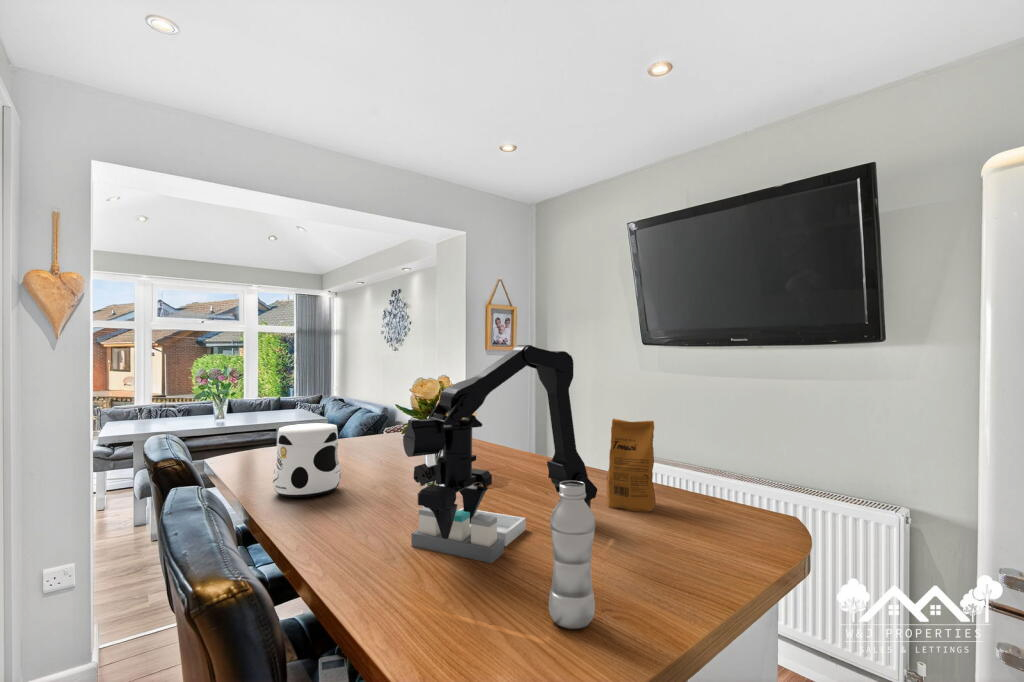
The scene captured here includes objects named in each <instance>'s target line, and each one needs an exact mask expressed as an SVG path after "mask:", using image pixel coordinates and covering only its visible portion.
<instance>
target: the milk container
mask: <svg viewBox="0 0 1024 682" xmlns="http://www.w3.org/2000/svg"><path fill="white" fill-rule="evenodd" d="M338 434H339V432H338V426H337V424H333V423H320V422H319V423H301V424H292V425H285V426H282V427H279V428H278V431H277V436H276V437H277V438H276V439H277V440H276V442H277V443H276V463H275V467H274V471H273V473H272V474H273V475H272V484H273V490H274V491H275V492H276V493H277V494H278V495H280V496H283V497H288V498H309V497H316V496H319V495H324V494H328V493H329V492H332V491H334V490H335V489H336V488H338V486H339V485H340V482H341V476H342V470H341V464H340V461H339V455H338V452H339V451H338V447H339V440H338V438H339V435H338Z"/></svg>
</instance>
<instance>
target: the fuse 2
mask: <svg viewBox="0 0 1024 682" xmlns="http://www.w3.org/2000/svg"><path fill="white" fill-rule="evenodd" d="M496 542H497V517H495V516H489V515H483V514H478V515H476V516H474V517H473V518H471V543H472V544H477V545H482V546H487V547H491V546H492V545H494V544H495V543H496Z"/></svg>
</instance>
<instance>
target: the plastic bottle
mask: <svg viewBox="0 0 1024 682" xmlns="http://www.w3.org/2000/svg"><path fill="white" fill-rule="evenodd" d="M559 486H560V492H559V493H558V497H560V500H559V501H560V502H559V501H558V503H557V504H556V505H555V507H554V508H553V510H552V512H551V514H550V519H549V523H550V525H549V526H550V533H551V540H552V556H553V557H552V559H553V566H552V567H553V570H552V581H551V587H550V591H549V597H548V610H549V616H550V617H551V619H552V620H553V622H554V623H555V624H556V625H558V626H559V627H561V628H565V629H568V630H578V629H584V628H586V627H587V626H589V624H590V623H591V622H592V620H593V619H594V616H595V611H596V610H595V609H596V602H595V594H594V591H593V582H592V581H593V580H592V556H593V555H592V553H593V545H594V544H593V543H594V537H595V529H596V518H595V515H594V513H593V511H592V509H591V507H590V508H589V506H588V505H587V504H586V502H585V501H584V498H586V493H585V484H584V483H583V482H580V481H562V482H560V485H559Z"/></svg>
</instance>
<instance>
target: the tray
mask: <svg viewBox="0 0 1024 682" xmlns="http://www.w3.org/2000/svg"><path fill="white" fill-rule="evenodd" d="M458 510H459V511H464V508H463V507H461V508H459V509H458ZM478 514H483V515H489V516H495V517H497V538H498V539H503V540H504V547H507V546H509V545H510V543H512V542H513V541H514V540H515V539H516V538H518V537H519V536H520V535H521V534H523V533H524V532H525V531H526V527H527V525H526V523H527V517H523V516H516V515H511V514H503V513H497V512H492V511H491V512H490V511H487V510H486V511H485V510H479V509H477V511H476V513H475V515H474V516H476V515H478ZM470 533H471V524H470Z"/></svg>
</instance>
